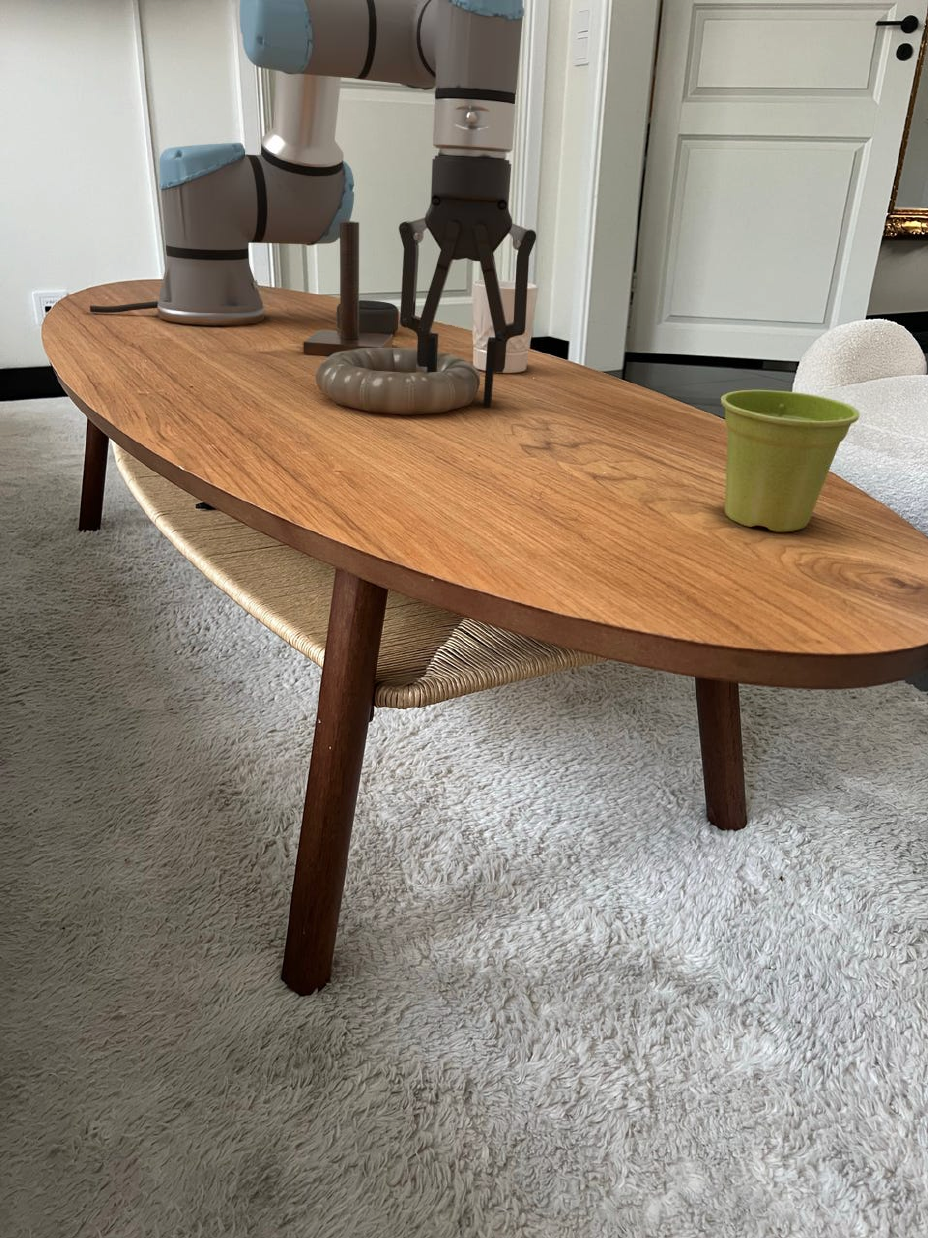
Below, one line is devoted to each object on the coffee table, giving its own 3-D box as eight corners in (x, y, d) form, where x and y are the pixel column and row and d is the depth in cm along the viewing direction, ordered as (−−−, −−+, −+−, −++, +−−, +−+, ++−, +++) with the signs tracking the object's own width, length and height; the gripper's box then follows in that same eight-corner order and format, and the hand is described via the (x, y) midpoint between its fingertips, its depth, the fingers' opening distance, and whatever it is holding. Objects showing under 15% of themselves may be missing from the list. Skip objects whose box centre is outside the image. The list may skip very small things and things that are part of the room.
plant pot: (756, 548, 62) (783, 424, 59) (676, 503, 70) (695, 391, 66) (857, 535, 66) (889, 417, 62) (771, 493, 74) (794, 386, 70)
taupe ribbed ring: (301, 411, 89) (300, 369, 87) (335, 375, 104) (335, 340, 102) (472, 423, 88) (475, 382, 86) (482, 386, 103) (484, 350, 102)
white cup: (543, 370, 114) (551, 286, 109) (502, 377, 109) (509, 289, 104) (496, 359, 118) (502, 278, 114) (455, 365, 113) (459, 281, 109)
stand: (303, 353, 115) (300, 220, 108) (320, 340, 123) (318, 217, 117) (381, 359, 114) (383, 226, 107) (392, 345, 123) (395, 222, 116)
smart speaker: (350, 325, 136) (350, 297, 134) (406, 331, 134) (407, 303, 132) (327, 333, 128) (326, 304, 127) (385, 340, 126) (386, 310, 125)
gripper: (369, 147, 82) (367, 402, 93) (570, 159, 81) (545, 415, 92) (382, 149, 89) (378, 386, 99) (568, 161, 88) (545, 399, 99)
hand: (459, 400), depth 96 cm, fingers open, 5 cm apart
